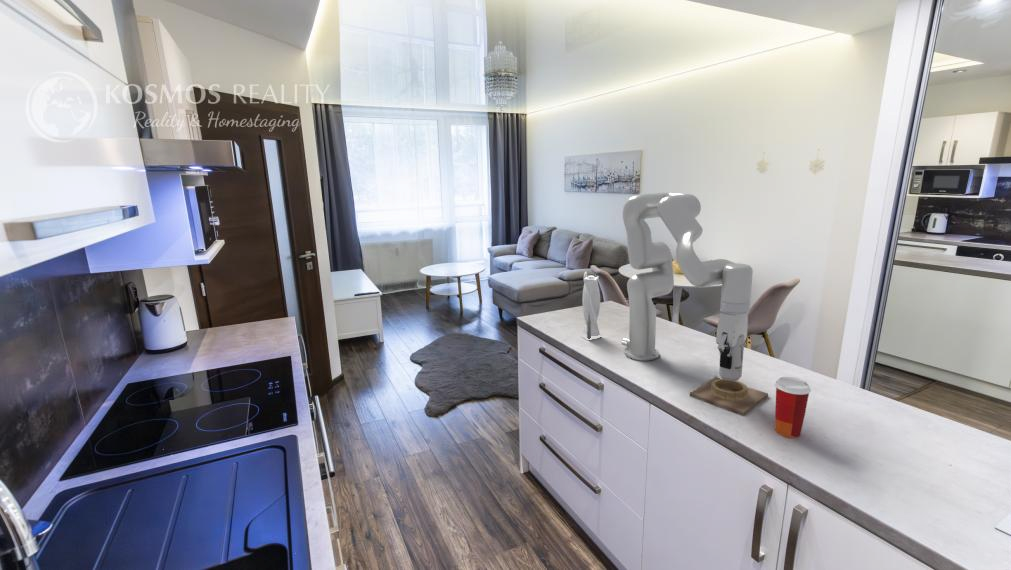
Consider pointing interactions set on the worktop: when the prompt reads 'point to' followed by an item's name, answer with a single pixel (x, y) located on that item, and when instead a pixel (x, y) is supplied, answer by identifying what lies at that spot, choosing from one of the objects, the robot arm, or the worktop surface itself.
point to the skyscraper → (591, 305)
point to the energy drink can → (734, 361)
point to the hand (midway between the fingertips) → (730, 363)
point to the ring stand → (729, 395)
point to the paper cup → (790, 405)
